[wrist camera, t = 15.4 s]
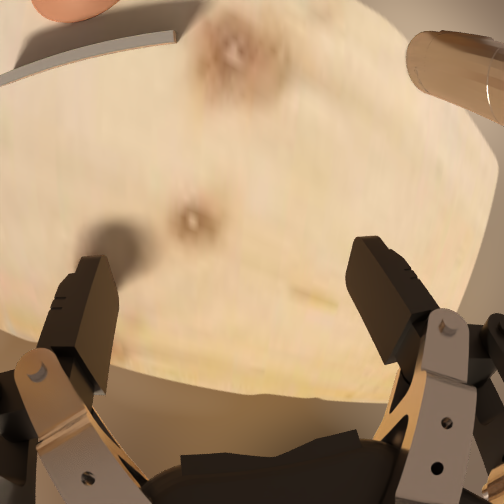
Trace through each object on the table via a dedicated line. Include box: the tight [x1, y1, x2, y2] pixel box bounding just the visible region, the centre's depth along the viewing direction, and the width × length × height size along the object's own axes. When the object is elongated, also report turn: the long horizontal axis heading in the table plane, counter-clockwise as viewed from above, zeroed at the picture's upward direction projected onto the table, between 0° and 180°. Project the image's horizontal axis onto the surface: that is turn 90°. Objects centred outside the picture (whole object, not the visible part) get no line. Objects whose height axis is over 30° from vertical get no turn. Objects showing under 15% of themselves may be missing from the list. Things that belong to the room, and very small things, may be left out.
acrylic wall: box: [0, 30, 177, 87], centre depth 24 cm, size 20×1×5 cm, turn 91°
